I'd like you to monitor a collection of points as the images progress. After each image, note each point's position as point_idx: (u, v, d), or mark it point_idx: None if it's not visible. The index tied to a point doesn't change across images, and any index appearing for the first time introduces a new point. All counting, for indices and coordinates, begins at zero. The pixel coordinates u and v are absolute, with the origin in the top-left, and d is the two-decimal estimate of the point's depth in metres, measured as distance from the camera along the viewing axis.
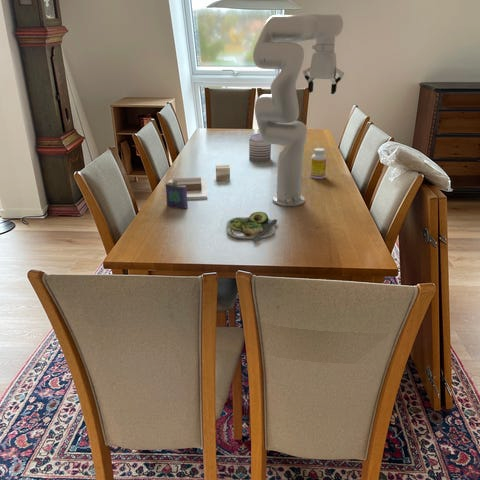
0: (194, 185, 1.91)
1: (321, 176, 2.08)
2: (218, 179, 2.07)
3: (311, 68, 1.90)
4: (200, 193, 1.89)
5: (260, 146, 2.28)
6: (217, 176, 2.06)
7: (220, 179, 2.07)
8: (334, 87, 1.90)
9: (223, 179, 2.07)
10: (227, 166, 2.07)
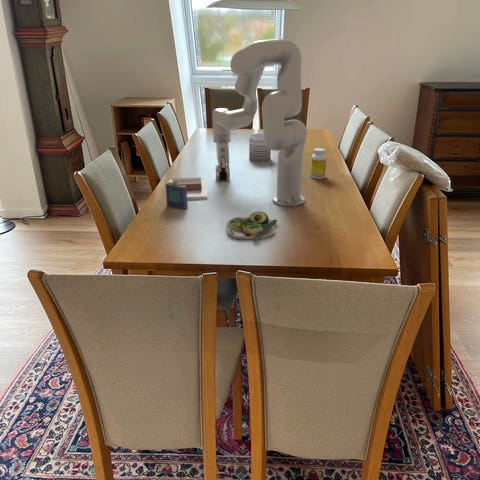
0: (194, 185, 1.91)
1: (321, 176, 2.08)
2: (218, 179, 2.07)
3: None
4: (200, 193, 1.89)
5: (260, 146, 2.28)
6: (217, 176, 2.06)
7: None
8: None
9: None
10: (227, 166, 2.07)
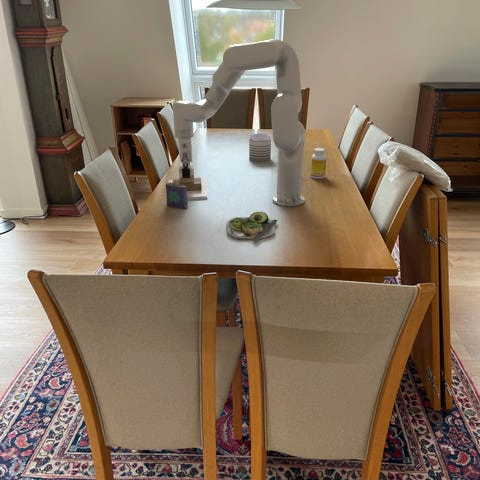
0: (194, 185, 1.91)
1: (321, 176, 2.08)
2: (181, 181, 1.92)
3: (191, 153, 1.85)
4: (200, 193, 1.89)
5: (260, 146, 2.28)
6: (180, 177, 1.91)
7: (183, 181, 1.92)
8: None
9: (187, 181, 1.92)
10: (191, 167, 1.92)
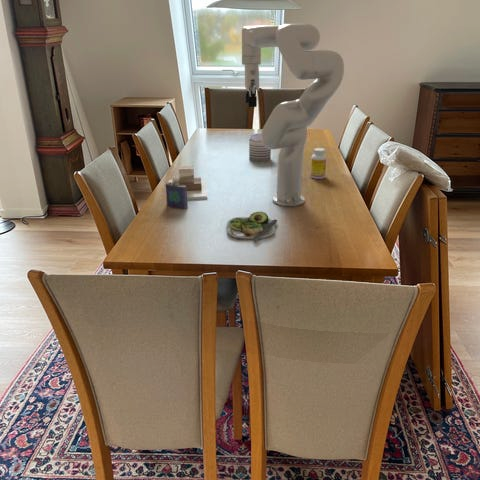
0: (194, 185, 1.91)
1: (321, 176, 2.08)
2: (181, 181, 1.92)
3: None
4: (200, 193, 1.89)
5: (260, 146, 2.28)
6: (180, 177, 1.91)
7: (183, 181, 1.92)
8: None
9: (187, 181, 1.92)
10: (191, 167, 1.92)
